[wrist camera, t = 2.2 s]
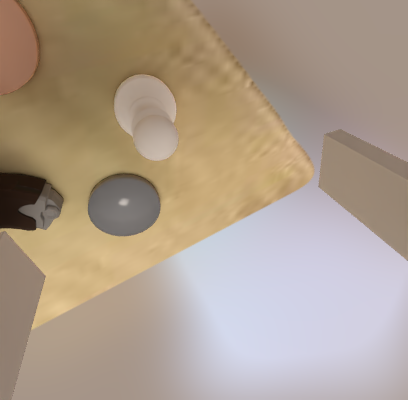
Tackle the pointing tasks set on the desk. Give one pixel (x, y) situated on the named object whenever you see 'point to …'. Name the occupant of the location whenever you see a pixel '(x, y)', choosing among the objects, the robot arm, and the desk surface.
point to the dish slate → (123, 205)
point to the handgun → (27, 202)
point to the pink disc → (16, 47)
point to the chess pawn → (147, 115)
